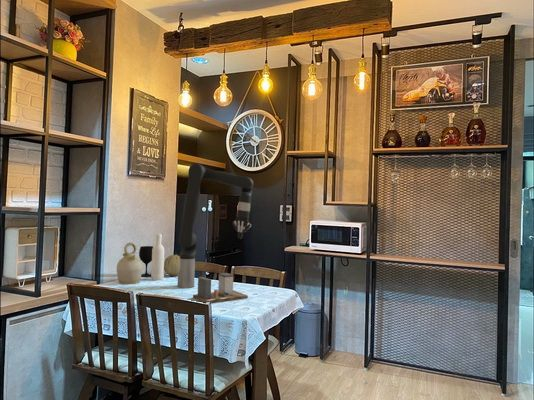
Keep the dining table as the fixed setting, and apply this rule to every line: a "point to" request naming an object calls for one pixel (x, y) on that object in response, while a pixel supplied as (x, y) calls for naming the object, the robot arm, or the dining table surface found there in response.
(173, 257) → the cantaloupe
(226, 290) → the grey block
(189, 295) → the dining table surface
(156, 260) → the bottle
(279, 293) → the dining table surface
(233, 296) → the base
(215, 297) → the peak marker
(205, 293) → the dark gray block
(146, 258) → the wine glass
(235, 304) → the dining table surface
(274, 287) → the dining table surface
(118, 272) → the jug
